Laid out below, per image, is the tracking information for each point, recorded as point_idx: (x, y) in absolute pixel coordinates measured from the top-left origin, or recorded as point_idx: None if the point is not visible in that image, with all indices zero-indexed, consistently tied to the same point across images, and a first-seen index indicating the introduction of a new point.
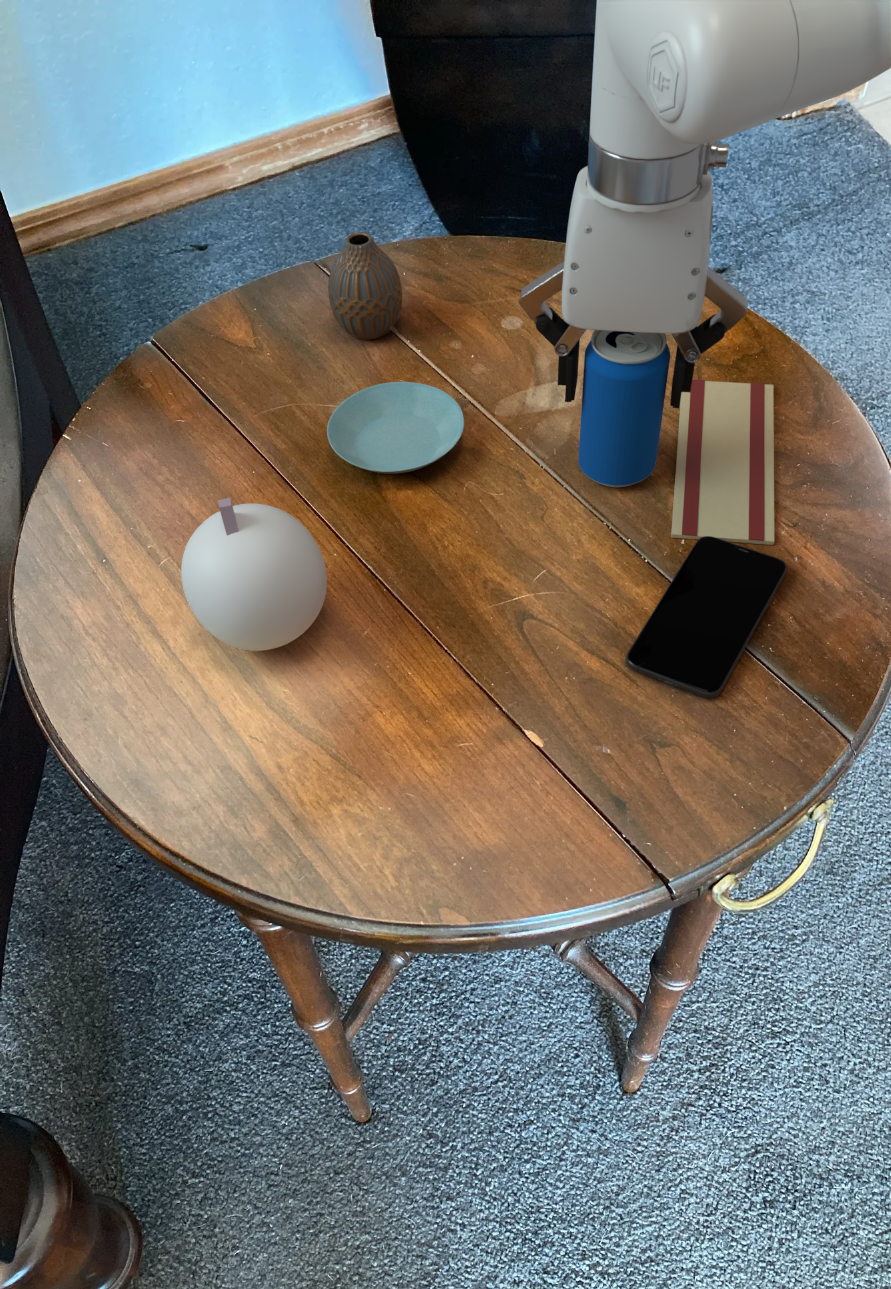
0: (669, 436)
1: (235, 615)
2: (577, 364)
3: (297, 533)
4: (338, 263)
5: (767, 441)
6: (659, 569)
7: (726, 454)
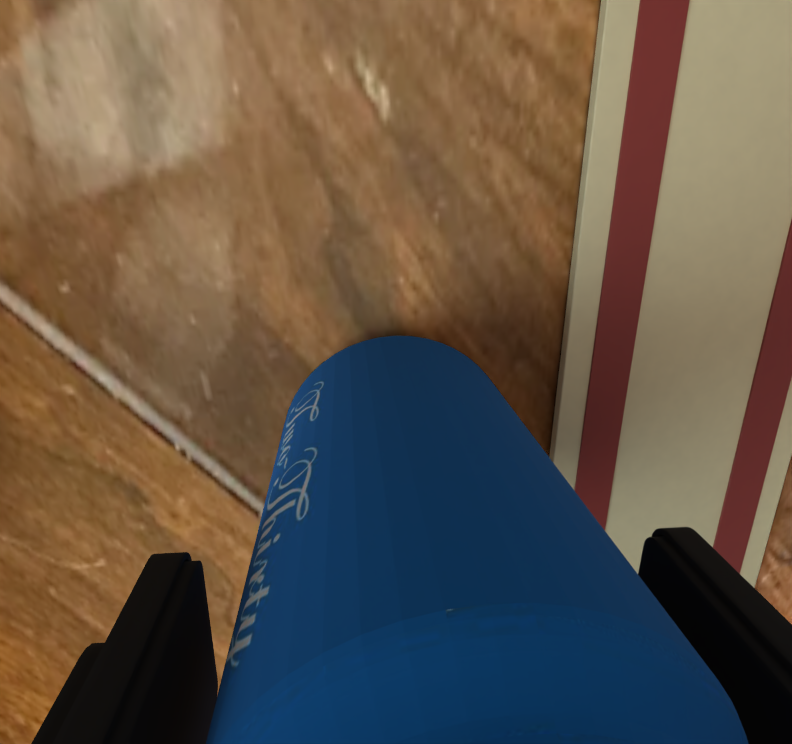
0: (543, 278)
1: None
2: (170, 733)
3: None
4: None
5: None
6: None
7: (697, 361)
